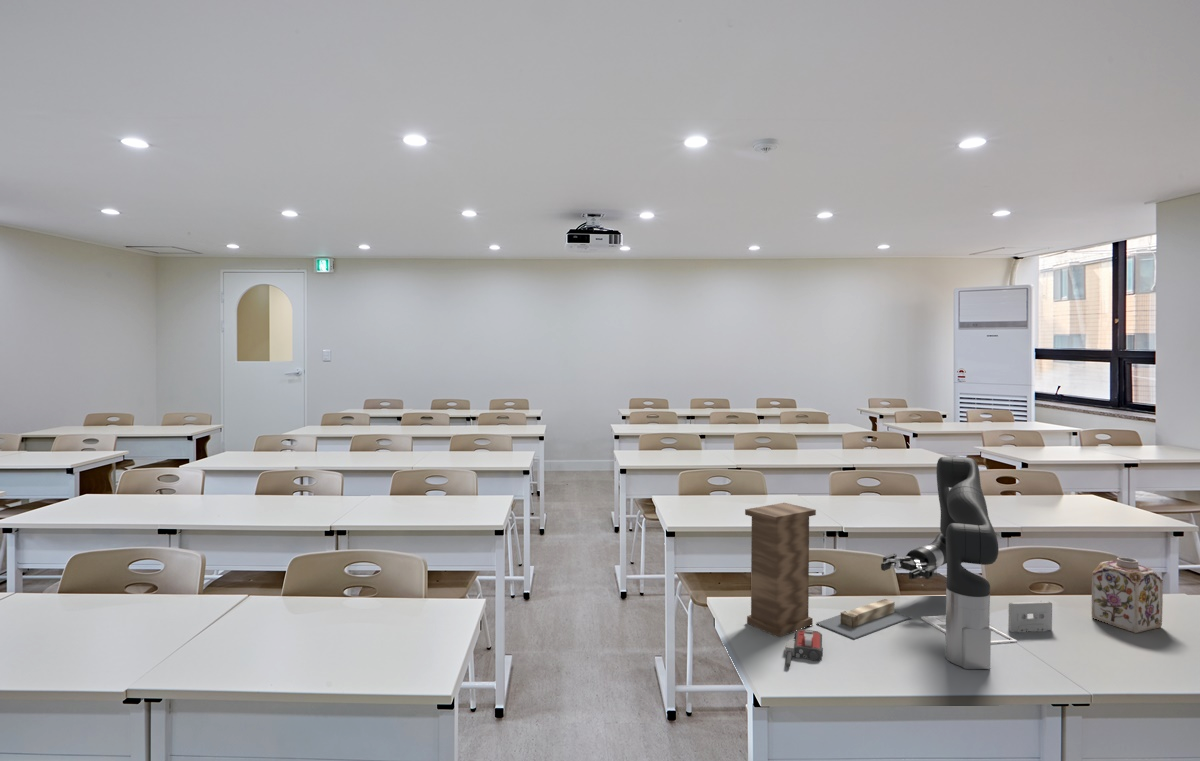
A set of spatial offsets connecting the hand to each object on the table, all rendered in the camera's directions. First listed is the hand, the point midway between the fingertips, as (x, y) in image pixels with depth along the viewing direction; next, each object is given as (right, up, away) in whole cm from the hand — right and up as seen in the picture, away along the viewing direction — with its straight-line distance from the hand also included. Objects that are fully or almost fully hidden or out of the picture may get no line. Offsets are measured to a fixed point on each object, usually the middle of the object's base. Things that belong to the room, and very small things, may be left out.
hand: (896, 571), depth 189 cm
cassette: (+30, -12, -14) cm, 35 cm away
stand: (-37, -12, -10) cm, 40 cm away
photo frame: (+13, -12, -14) cm, 23 cm away
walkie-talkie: (-36, -13, -29) cm, 48 cm away
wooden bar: (-11, -11, -7) cm, 17 cm away
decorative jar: (+60, -12, -9) cm, 62 cm away
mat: (-13, -12, -8) cm, 19 cm away
